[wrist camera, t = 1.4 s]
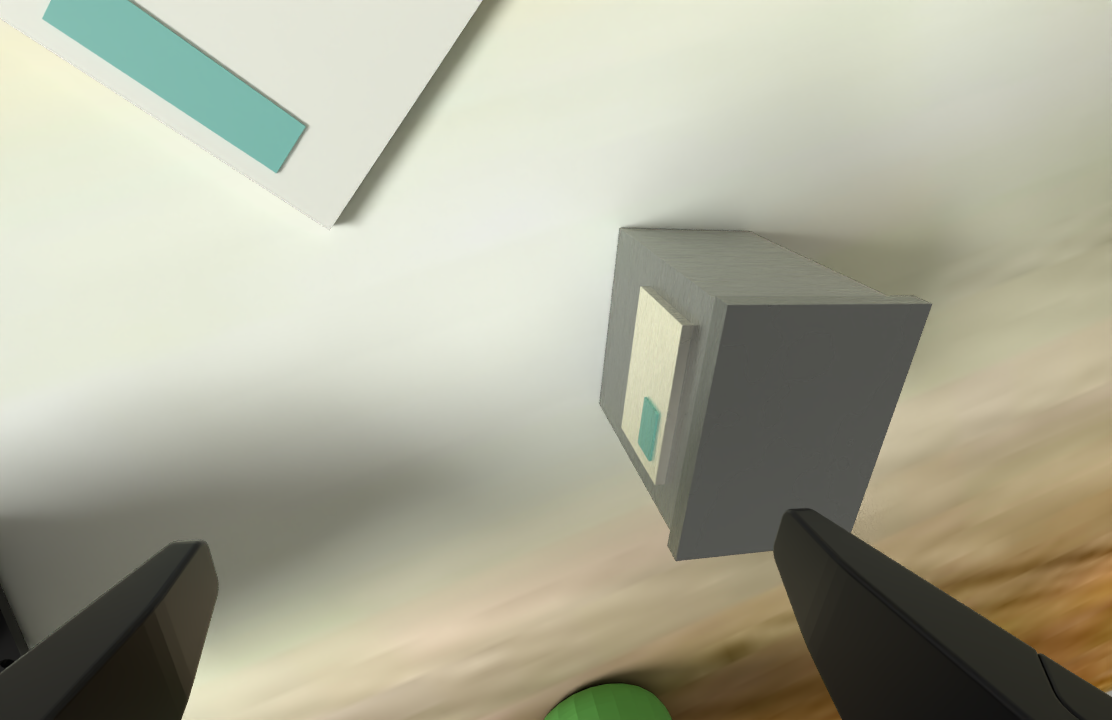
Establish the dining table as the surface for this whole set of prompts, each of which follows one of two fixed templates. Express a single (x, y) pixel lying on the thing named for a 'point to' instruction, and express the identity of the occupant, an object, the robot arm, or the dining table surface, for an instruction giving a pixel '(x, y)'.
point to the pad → (262, 77)
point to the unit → (749, 383)
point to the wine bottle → (611, 704)
